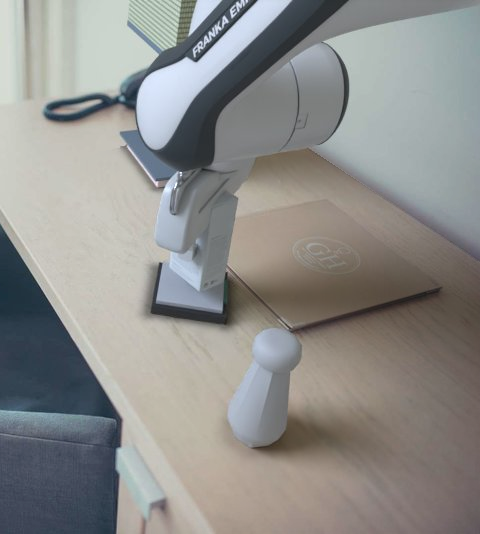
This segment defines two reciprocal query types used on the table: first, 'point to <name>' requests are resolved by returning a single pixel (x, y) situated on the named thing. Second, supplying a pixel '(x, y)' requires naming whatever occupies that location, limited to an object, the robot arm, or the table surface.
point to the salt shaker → (265, 389)
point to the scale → (188, 298)
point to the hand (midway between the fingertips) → (198, 243)
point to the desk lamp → (159, 38)
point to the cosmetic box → (210, 247)
